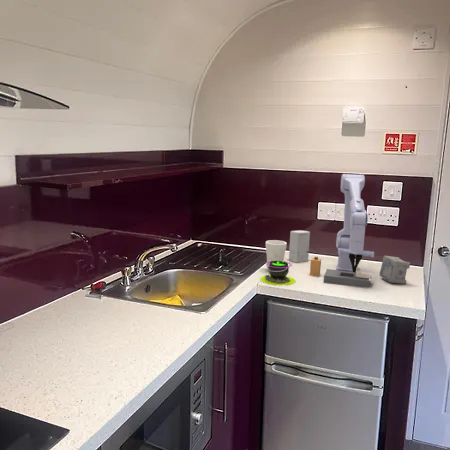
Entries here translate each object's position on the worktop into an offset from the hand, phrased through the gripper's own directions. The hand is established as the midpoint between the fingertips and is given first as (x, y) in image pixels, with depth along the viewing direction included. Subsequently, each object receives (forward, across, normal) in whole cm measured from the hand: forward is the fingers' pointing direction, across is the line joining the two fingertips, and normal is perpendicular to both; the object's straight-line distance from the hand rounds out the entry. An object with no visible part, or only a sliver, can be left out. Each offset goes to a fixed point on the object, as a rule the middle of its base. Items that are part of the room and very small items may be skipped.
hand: (354, 271), depth 198 cm
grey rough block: (+5, +16, +9) cm, 19 cm away
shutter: (+1, +4, 0) cm, 4 cm away
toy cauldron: (+5, -30, -10) cm, 32 cm away
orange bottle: (+5, -17, +5) cm, 18 cm away
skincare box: (+5, -28, +26) cm, 38 cm away
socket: (+5, -3, 0) cm, 5 cm away
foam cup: (+5, -35, +4) cm, 35 cm away
